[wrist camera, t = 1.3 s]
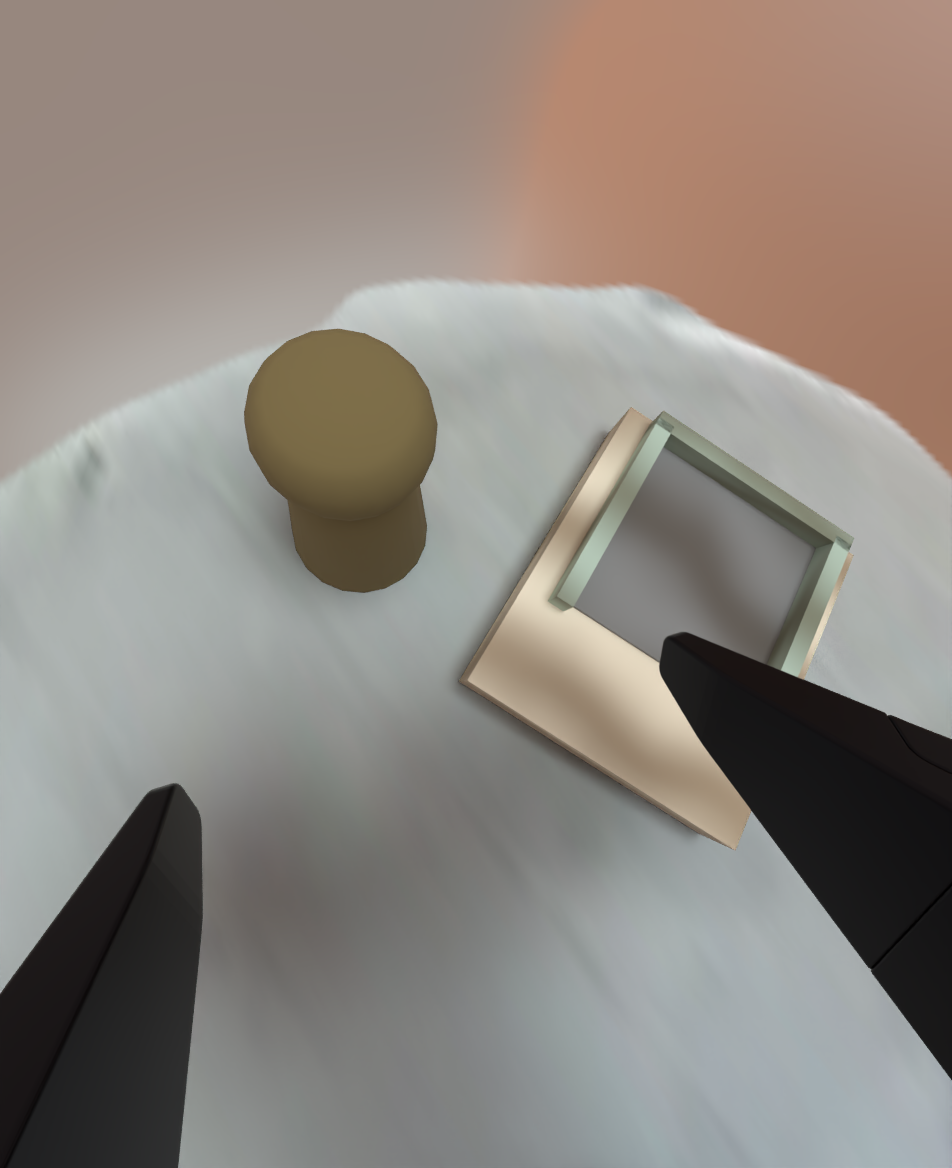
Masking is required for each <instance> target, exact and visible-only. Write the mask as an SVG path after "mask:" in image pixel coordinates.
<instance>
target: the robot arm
mask: <svg viewBox="0 0 952 1168" xmlns="http://www.w3.org/2000/svg"><path fill="white" fill-rule="evenodd" d="M659 671H660V674H661V677H662V679H663V681H664V682H665V684H666V686H667V687H668V689H669V691H670V692H671V694H672V696H673V697H674V699H675V701H676V702H677V704H678V706H679V707H680V709H681V711H682V712H683V714H684V716H685V717H686V719H687V721H688V722H689V724H690V726H691V727H692V729H693V731H694V732H695V734H696V736H697V737H698V739H699V740H700V742H701V743H702V745H703V746H704V747H705V749H706V750H707V752H708V753H709V754H710V756H711V757H712V758H713V760H714V761H715V762H716V764H717V765H718V766H719V768H720V769H721V770H722V772H723V773H724V775H725V776H726V777H727V779H728V780H729V781H730V783H731V784H732V785H733V787H734V788H735V789H736V791H737V792H738V793H739V795H740V796H741V797H742V799H743V800H744V801H745V803H746V804H747V805H748V807H749V808H750V809H751V811H752V812H753V813H754V815H755V816H756V817H757V819H758V820H759V822H760V823H761V824H762V826H763V827H764V828H765V830H766V831H767V832H768V834H769V835H770V836H771V838H772V839H773V840H774V842H775V843H776V844H777V846H778V847H779V848H780V850H781V851H782V852H783V854H784V855H785V856H786V858H787V859H788V860H789V862H790V863H791V864H792V866H793V867H794V869H795V870H796V871H797V873H798V874H799V875H800V877H801V878H802V879H803V881H804V882H805V883H806V885H807V886H808V887H809V889H810V890H811V891H812V893H813V894H814V895H815V897H816V898H817V899H818V901H819V902H820V903H821V905H822V906H823V907H824V909H825V910H826V911H827V913H828V914H829V916H830V917H831V918H832V920H833V921H834V922H835V924H836V925H837V926H838V928H839V929H840V930H841V932H842V933H843V934H844V936H845V937H846V938H847V940H848V941H849V942H850V944H851V945H852V946H853V948H854V949H855V950H856V952H857V953H858V954H859V956H860V957H861V958H862V960H863V961H864V963H865V964H866V965H867V967H868V968H870V969H871V972H872V974H873V975H874V977H875V978H876V979H877V981H878V982H879V983H880V985H881V986H882V987H883V989H884V990H885V991H886V993H887V994H888V995H889V997H890V998H891V999H892V1001H893V1002H894V1003H895V1005H896V1006H897V1007H898V1009H899V1010H900V1011H901V1013H902V1014H903V1015H904V1017H905V1018H906V1019H907V1021H908V1022H909V1023H910V1025H911V1026H912V1027H913V1029H914V1030H915V1032H916V1033H917V1034H918V1036H919V1037H920V1038H921V1040H922V1041H923V1042H924V1044H925V1045H926V1046H927V1048H928V1049H929V1050H930V1052H931V1053H932V1054H933V1056H934V1057H935V1058H936V1060H937V1061H938V1062H939V1064H940V1065H941V1066H942V1068H943V1069H944V1070H945V1072H946V1073H947V1074H948V1076H949V1077H950V1078H951V1080H952V739H950V738H947V737H945V736H942V735H940V734H937V733H934V732H932V731H929V730H927V729H924V728H922V727H919V726H917V725H914V724H912V723H909V722H907V721H904V720H902V719H899V718H897V717H895V716H892V715H888V716H887V714H886V713H884V712H882V711H880V710H877V709H875V708H872V707H870V706H867V705H865V704H862V703H860V702H857V701H855V700H853V699H850V698H848V697H845V696H843V695H840V694H838V693H835V692H833V691H831V690H828V689H826V688H823V687H821V686H818V685H816V684H813V683H811V682H808V681H806V680H804V679H801V678H799V677H796V676H794V675H791V674H789V673H786V672H784V671H782V670H779V669H777V668H774V667H772V666H769V665H767V664H764V663H762V662H759V661H757V660H755V659H752V658H750V657H747V656H745V655H742V654H740V653H737V652H735V651H732V650H730V649H728V648H725V647H723V646H720V645H718V644H715V643H713V642H710V641H708V640H706V639H703V638H701V637H698V636H696V635H693V634H691V633H688V632H679V633H676V634H672V635H669V636H667V637H666V638H665V639H664V641H663V645H662V651H661V657H660V662H659ZM202 919H203V892H202V826H201V818H200V814H199V811H198V810H197V808H196V806H195V805H194V804H193V802H192V801H191V799H190V798H189V796H188V795H187V793H186V792H185V790H184V789H183V788H182V786H181V785H179V784H177V783H173V784H169V785H166V786H163V787H159V788H156V789H153V790H151V791H149V792H148V793H147V794H146V795H145V796H144V798H143V799H142V800H141V802H140V803H139V805H138V806H137V807H136V809H135V810H134V811H133V813H132V814H131V815H130V817H129V818H128V820H127V821H126V822H125V824H124V825H123V826H122V828H121V829H120V830H119V832H118V833H117V835H116V836H115V837H114V839H113V840H112V841H111V843H110V844H109V846H108V847H107V848H106V850H105V851H104V852H103V854H102V855H101V856H100V858H99V859H98V861H97V862H96V863H95V865H94V866H93V867H92V869H91V870H90V872H89V873H88V874H87V876H86V877H85V878H84V880H83V881H82V882H81V884H80V885H79V887H78V888H77V889H76V891H75V892H74V893H73V895H72V896H71V898H70V899H69V900H68V902H67V903H66V904H65V906H64V907H63V908H62V910H61V911H60V913H59V914H58V915H57V917H56V918H55V919H54V921H53V922H52V923H51V925H50V926H49V928H48V929H47V930H46V932H45V933H44V934H43V936H42V937H41V939H40V940H39V941H38V943H37V944H36V945H35V947H34V948H33V949H32V951H31V952H30V954H29V955H28V956H27V958H26V959H25V960H24V962H23V963H22V965H21V966H20V967H19V969H18V970H17V971H16V973H15V974H14V975H13V977H12V978H11V980H10V981H9V982H8V984H7V985H6V986H5V988H4V989H3V990H2V992H1V993H0V1168H178V1163H179V1153H180V1143H181V1133H182V1123H183V1113H184V1103H185V1093H186V1083H187V1073H188V1063H189V1053H190V1043H191V1033H192V1023H193V1013H194V1003H195V993H196V983H197V974H198V964H199V954H200V944H201V933H202Z"/></svg>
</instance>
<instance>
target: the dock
mask: <svg viewBox="0 0 952 1168" xmlns="http://www.w3.org/2000/svg"><path fill="white" fill-rule="evenodd" d="M853 540H854V538H853V537H852V536H850V535H849V534H847V533H846V532H844V531H843V530H841V529H840V528H838V527H837V526H835V525H834V524H832V523H831V522H829V521H828V520H826V519H825V518H823V517H822V516H820V515H819V514H817V513H816V512H814V511H813V510H811V509H810V508H808V507H807V506H805V505H804V504H802V503H801V502H799V501H798V500H796V499H795V498H793V497H792V496H790V495H789V494H787V493H786V492H784V491H783V490H781V489H780V488H779V487H777V486H776V485H774V484H773V483H771V482H770V481H768V480H767V479H765V478H764V477H762V476H761V475H759V474H758V473H756V472H755V471H753V470H752V469H750V468H749V467H747V466H746V465H744V464H743V463H741V462H740V461H738V460H737V459H735V458H734V457H732V456H731V455H729V454H728V453H726V452H725V451H723V450H722V449H720V448H719V447H717V446H716V445H714V444H713V443H711V442H710V441H708V440H707V439H705V438H704V437H702V436H701V435H699V434H698V433H696V432H695V431H693V430H692V429H690V428H689V427H687V426H686V425H684V424H683V423H681V422H680V421H678V420H677V419H675V418H674V417H672V416H671V415H669V414H668V413H666V412H665V411H663V412H662V413H661V414H660V415H659V416H658V417H657V418H656V419H655V420H654V421H651V420H650V419H648V418H647V417H645V416H644V415H642V414H641V413H639V412H638V411H636V410H635V409H633V408H632V407H631V408H630V409H629V410H628V411H627V412H626V413H625V415H624V416H623V417H622V418H621V419H620V420H619V422H618V423H617V424H616V425H615V426H614V427H613V428H612V430H611V431H610V432H609V433H608V435H607V437H606V438H605V440H604V442H603V443H602V445H601V446H600V448H599V450H598V451H597V453H596V455H595V456H594V458H593V460H592V461H591V463H590V465H589V466H588V468H587V470H586V471H585V473H584V475H583V476H582V478H581V480H580V481H579V483H578V485H577V486H576V488H575V490H574V491H573V493H572V495H571V496H570V498H569V499H568V501H567V503H566V504H565V506H564V508H563V509H562V511H561V513H560V514H559V516H558V518H557V519H556V521H555V523H554V524H553V526H552V528H551V529H550V531H549V533H548V534H547V536H546V538H545V539H544V541H543V543H542V544H541V546H540V548H539V549H538V551H537V552H536V554H535V556H534V557H533V559H532V561H531V562H530V564H529V566H528V567H527V569H526V571H525V572H524V574H523V576H522V577H521V579H520V581H519V582H518V584H517V586H516V587H515V589H514V591H513V592H512V594H511V596H510V597H509V599H508V601H507V602H506V604H505V606H504V607H503V609H502V610H501V612H500V614H499V615H498V617H497V619H496V620H495V622H494V624H493V625H492V627H491V629H490V630H489V632H488V634H487V635H486V637H485V639H484V640H483V642H482V644H481V645H480V647H479V649H478V650H477V652H476V654H475V655H474V657H473V659H472V660H471V662H470V663H469V665H468V667H467V668H466V670H465V672H464V673H463V675H462V677H461V678H460V680H459V682H461V683H462V684H464V685H465V686H467V687H469V688H470V689H472V690H473V691H475V692H477V693H478V694H480V695H481V696H483V697H484V698H486V699H488V700H489V701H491V702H492V703H494V704H495V705H497V706H499V707H500V708H502V709H503V710H505V711H506V712H508V713H510V714H511V715H513V716H514V717H516V718H518V719H519V720H521V721H522V722H524V723H525V724H527V725H529V726H530V727H532V728H533V729H535V730H536V731H538V732H540V733H541V734H543V735H544V736H546V737H547V738H549V739H551V740H552V741H554V742H555V743H557V744H559V745H560V746H562V747H563V748H565V749H566V750H568V751H570V752H571V753H573V754H574V755H576V756H577V757H579V758H581V759H582V760H584V761H585V762H587V763H589V764H590V765H592V766H593V767H595V768H596V769H598V770H600V771H601V772H603V773H604V774H606V775H607V776H609V777H611V778H612V779H614V780H615V781H617V782H618V783H620V784H622V785H623V786H625V787H626V788H628V789H630V790H631V791H633V792H634V793H636V794H637V795H639V796H641V797H642V798H644V799H645V800H647V801H648V802H650V803H652V804H653V805H655V806H656V807H658V808H659V809H661V810H663V811H664V812H666V813H667V814H669V815H671V816H672V817H674V818H675V819H677V820H678V821H680V822H682V823H683V824H685V825H686V826H688V827H689V828H691V829H693V830H694V831H696V832H697V833H699V834H701V835H703V836H705V837H707V838H710V839H712V840H714V841H716V842H718V843H720V844H723V845H725V846H727V847H729V848H731V849H733V850H736V848H737V845H738V843H739V840H740V838H741V835H742V833H743V830H744V828H745V825H746V823H747V820H748V818H749V815H750V813H751V809H750V808H749V807H748V805H747V804H746V803H745V801H744V800H743V799H742V797H741V796H740V795H739V793H738V792H737V791H736V789H735V788H734V787H733V785H732V784H731V783H730V781H729V780H728V779H727V777H726V776H725V775H724V773H723V772H722V770H721V769H720V768H719V766H718V765H717V764H716V762H715V761H714V760H713V758H712V757H711V756H710V754H709V753H708V752H707V750H706V749H705V747H704V746H703V745H702V743H701V742H700V740H699V739H698V737H697V736H696V734H695V732H694V731H693V729H692V727H691V726H690V724H689V722H688V721H687V719H686V717H685V716H684V714H683V712H682V711H681V709H680V707H679V706H678V704H677V702H676V701H675V699H674V697H673V696H672V694H671V692H670V691H669V689H668V687H667V686H666V684H665V682H664V681H663V679H662V677H661V674H660V671H659V662H660V657H661V651H662V645H663V641H664V639H665V638H666V637H667V636H669V635H672V634H676V633H679V632H688V633H691V634H693V635H696V636H698V637H701V638H703V639H706V640H708V641H710V642H713V643H715V644H718V645H720V646H723V647H725V648H728V649H730V650H732V651H735V652H737V653H740V654H742V655H745V656H747V657H750V658H752V659H755V660H757V661H759V662H762V663H764V664H767V665H769V666H772V667H774V668H777V669H779V670H782V671H784V672H786V673H789V674H791V675H794V676H796V677H799V678H801V679H804V678H805V675H806V673H807V670H808V668H809V665H810V663H811V660H812V658H813V655H814V653H815V650H816V648H817V645H818V643H819V640H820V638H821V635H822V633H823V630H824V628H825V625H826V623H827V620H828V618H829V615H830V613H831V610H832V608H833V605H834V603H835V600H836V598H837V595H838V593H839V591H840V588H841V586H842V583H843V581H844V578H845V576H846V573H847V571H848V568H849V566H850V563H851V561H852V558H853V556H854V555H852V554H851V553H849V550H850V547H851V545H852V542H853Z"/></svg>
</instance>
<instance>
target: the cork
mask: <svg viewBox="0 0 952 1168" xmlns="http://www.w3.org/2000/svg"><path fill="white" fill-rule="evenodd" d="M244 420H245V428H246V433H247V439H248V444H249V450H250V452H251V454H252V455H253V457H254V459H255V461H256V462H257V464H258V466H259V467H260V469H261V471H262V473H263V474H264V476H265V478H266V479H267V481H268V482H269V484H270V485H271V486H272V487H273V488H274V489H276V490H277V491H278V492H279V493H280V494H281V495H282V496H284V497H285V498H286V499H287V500H288V505H289V512H290V518H291V525H292V531H293V537H294V542H295V547H296V551H297V553H298V554H299V556H300V558H301V559H302V561H303V563H304V565H305V566H306V568H307V569H308V570H309V571H310V572H312V573H313V574H314V575H315V576H316V577H317V578H319V579H320V580H321V581H322V582H324V583H326V584H328V585H331V586H333V587H335V588H338V589H340V590H342V591H352V592H362V593H365V592H370V591H375V590H380V589H384V588H387V587H388V586H390V585H392V584H394V583H396V582H397V581H399V580H401V579H403V578H404V577H405V576H406V575H407V574H408V573H409V571H410V570H411V569H412V568H413V567H414V566H415V565H416V564H417V562H418V560H419V558H420V556H421V553H422V551H423V549H424V547H425V541H426V531H427V524H426V518H425V512H424V506H423V500H422V495H421V489H420V484H421V483H422V481H423V479H424V477H425V475H426V473H427V471H428V469H429V467H430V464H431V462H432V460H433V457H434V453H435V446H436V435H437V420H436V416H435V412H434V408H433V404H432V400H431V396H430V393H429V389H428V388H427V386H426V384H425V383H424V381H423V380H422V378H421V377H420V375H419V373H418V372H417V370H416V369H415V367H414V366H413V365H412V364H411V363H410V362H408V361H407V360H406V359H405V358H404V357H403V356H401V355H400V354H399V353H398V352H397V351H396V350H395V349H393V348H392V347H391V346H389V345H388V344H386V343H384V342H382V341H380V340H377V339H375V338H373V337H371V336H369V335H367V334H365V333H359V332H354V331H348V330H342V329H331V330H320V331H311V332H309V333H306V334H304V335H301V336H299V337H296V338H294V339H291V340H289V341H287V342H286V343H285V344H283V345H282V346H281V347H280V348H279V349H277V350H276V351H275V352H274V353H272V354H271V355H270V356H269V357H268V358H267V359H266V360H265V361H264V362H263V364H262V365H261V367H260V369H259V370H258V372H257V374H256V375H255V377H254V378H253V380H252V382H251V383H250V385H249V389H248V395H247V400H246V406H245V411H244Z"/></svg>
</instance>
